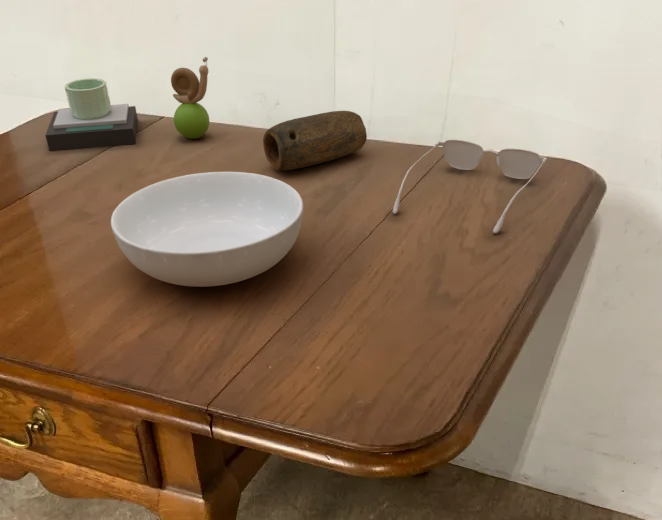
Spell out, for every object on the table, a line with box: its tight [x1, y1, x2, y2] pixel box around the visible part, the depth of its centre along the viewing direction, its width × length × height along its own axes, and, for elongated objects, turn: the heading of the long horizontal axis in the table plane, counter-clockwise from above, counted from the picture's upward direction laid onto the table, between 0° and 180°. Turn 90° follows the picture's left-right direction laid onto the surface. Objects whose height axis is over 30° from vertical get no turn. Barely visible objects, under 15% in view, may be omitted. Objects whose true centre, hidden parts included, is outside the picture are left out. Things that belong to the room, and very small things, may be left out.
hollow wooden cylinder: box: [262, 110, 368, 172], centre depth 110 cm, size 15×7×7 cm, turn 129°
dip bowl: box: [64, 77, 112, 119], centre depth 120 cm, size 6×6×4 cm
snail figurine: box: [170, 56, 210, 140], centre depth 117 cm, size 5×6×12 cm
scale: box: [45, 103, 139, 151], centre depth 122 cm, size 13×11×3 cm
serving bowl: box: [110, 171, 304, 288], centre depth 86 cm, size 21×21×7 cm
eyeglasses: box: [392, 139, 548, 234], centre depth 100 cm, size 15×18×4 cm
